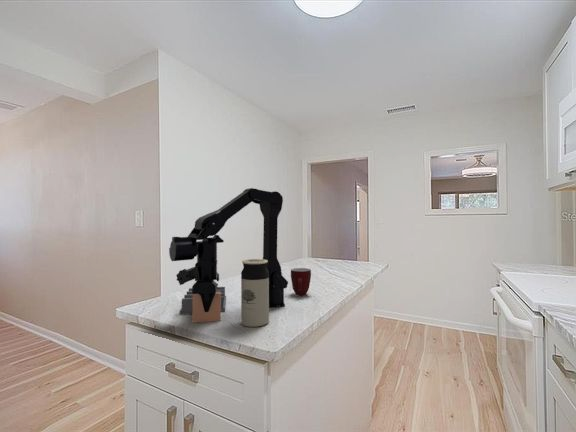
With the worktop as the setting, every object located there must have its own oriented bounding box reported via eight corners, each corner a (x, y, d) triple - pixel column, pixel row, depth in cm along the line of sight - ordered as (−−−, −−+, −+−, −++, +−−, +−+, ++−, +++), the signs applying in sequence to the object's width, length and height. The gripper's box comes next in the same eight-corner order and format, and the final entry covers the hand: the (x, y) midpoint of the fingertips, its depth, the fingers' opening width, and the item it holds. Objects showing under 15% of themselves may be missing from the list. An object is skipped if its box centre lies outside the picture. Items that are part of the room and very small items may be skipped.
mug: (312, 299, 109) (312, 272, 109) (291, 299, 109) (291, 272, 109) (310, 292, 120) (309, 268, 120) (290, 292, 120) (290, 268, 120)
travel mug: (255, 316, 90) (255, 258, 90) (274, 321, 85) (274, 260, 85) (235, 323, 84) (235, 261, 84) (254, 329, 79) (254, 263, 79)
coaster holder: (226, 298, 110) (226, 286, 110) (224, 311, 94) (224, 297, 94) (187, 300, 107) (187, 288, 108) (179, 314, 92) (179, 299, 92)
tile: (220, 317, 88) (220, 291, 89) (220, 320, 86) (220, 293, 86) (193, 319, 87) (193, 292, 87) (192, 322, 85) (192, 294, 85)
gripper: (184, 255, 95) (184, 303, 94) (172, 263, 76) (172, 323, 76) (219, 254, 97) (219, 301, 96) (215, 262, 78) (215, 320, 78)
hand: (207, 310), depth 87 cm, fingers closed on tile, 2 cm apart
